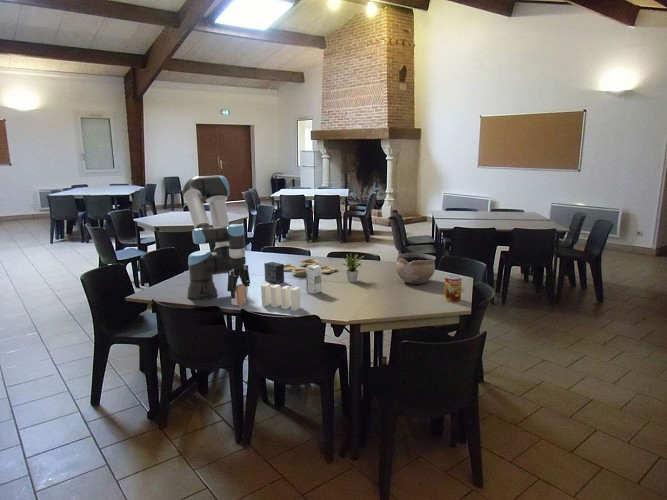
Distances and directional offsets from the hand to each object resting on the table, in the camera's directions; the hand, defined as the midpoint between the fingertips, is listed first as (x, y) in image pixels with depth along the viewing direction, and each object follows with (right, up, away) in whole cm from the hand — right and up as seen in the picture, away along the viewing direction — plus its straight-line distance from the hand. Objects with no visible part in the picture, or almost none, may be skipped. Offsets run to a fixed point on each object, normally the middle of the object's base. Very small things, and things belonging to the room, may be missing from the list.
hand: (240, 301), depth 244 cm
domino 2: (+13, -2, +1) cm, 13 cm away
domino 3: (+18, -2, -1) cm, 18 cm away
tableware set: (+29, +12, +67) cm, 74 cm away
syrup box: (+36, +3, +20) cm, 41 cm away
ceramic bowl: (+92, +7, +36) cm, 99 cm away
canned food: (+105, 0, +4) cm, 105 cm away
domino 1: (0, -2, 0) cm, 2 cm away
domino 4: (+23, -2, -4) cm, 23 cm away
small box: (+12, +7, +42) cm, 45 cm away
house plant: (+57, +7, +39) cm, 69 cm away
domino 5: (+28, -3, -6) cm, 29 cm away
